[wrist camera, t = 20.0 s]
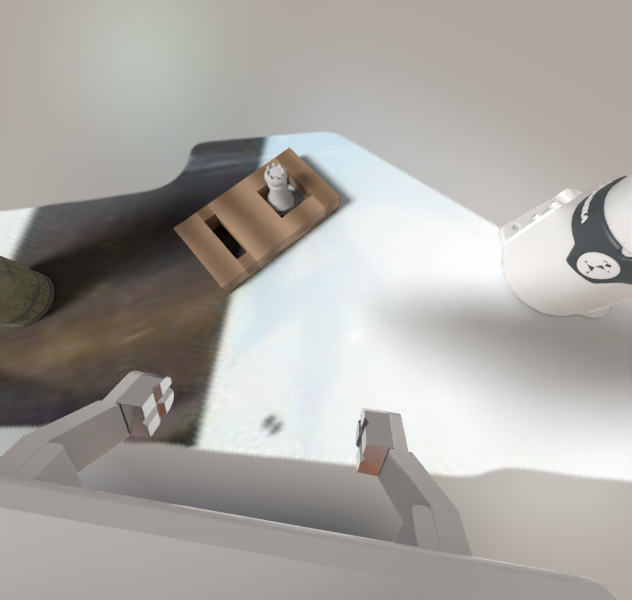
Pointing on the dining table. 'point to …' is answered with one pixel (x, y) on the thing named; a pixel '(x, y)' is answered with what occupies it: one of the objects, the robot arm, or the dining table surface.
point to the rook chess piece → (278, 189)
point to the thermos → (23, 294)
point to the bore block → (256, 221)
